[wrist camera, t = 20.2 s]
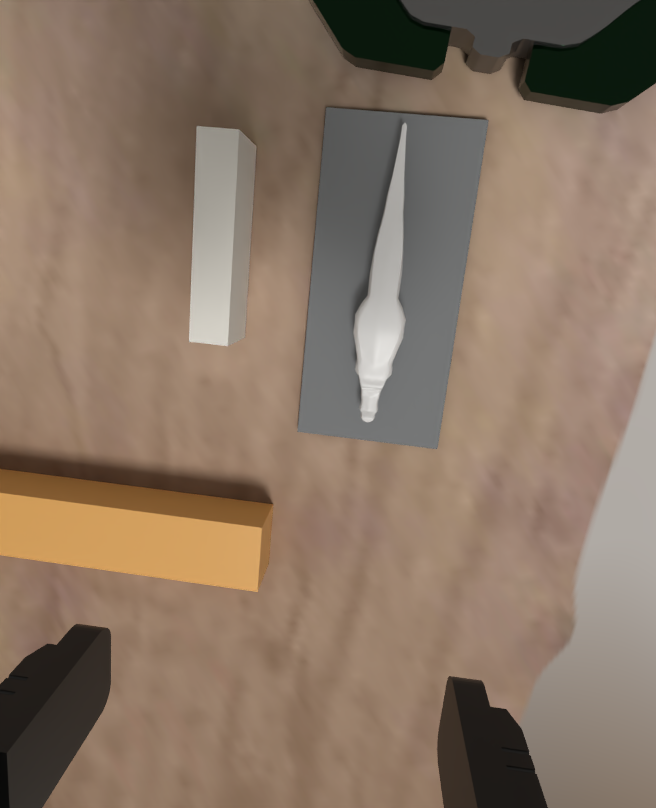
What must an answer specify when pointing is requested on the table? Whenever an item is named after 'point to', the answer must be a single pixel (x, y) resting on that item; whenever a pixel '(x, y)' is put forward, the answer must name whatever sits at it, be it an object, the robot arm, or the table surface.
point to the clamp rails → (221, 235)
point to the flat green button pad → (508, 43)
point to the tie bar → (135, 529)
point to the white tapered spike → (382, 297)
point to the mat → (421, 271)
